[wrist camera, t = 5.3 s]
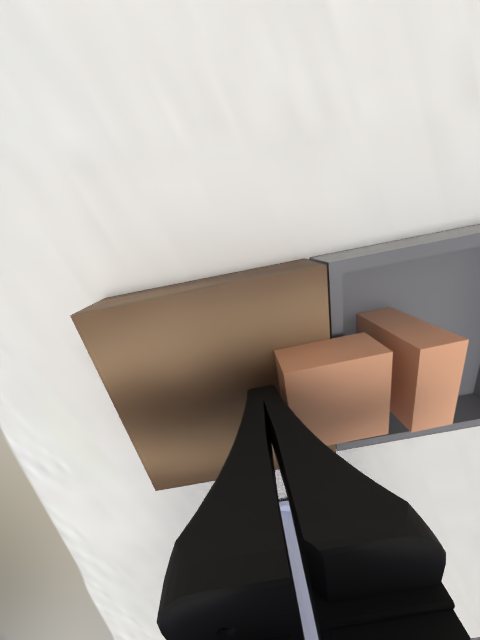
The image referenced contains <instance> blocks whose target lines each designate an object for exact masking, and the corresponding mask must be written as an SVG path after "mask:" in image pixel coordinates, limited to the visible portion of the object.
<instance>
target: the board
mask: <svg viewBox="0 0 480 640" xmlns="http://www.w3.org/2000/svg"><path fill="white" fill-rule="evenodd" d="M70 316H71V318H72V320H73V322H74V324H75V326H76V329H77V331H78V333H79V335H80V337H81V339H82V341H83V343H84V345H85V347H86V349H87V351H88V353H89V355H90V357H91V359H92V361H93V363H94V365H95V367H96V369H97V372H98V374H99V376H100V378H101V380H102V382H103V384H104V386H105V388H106V390H107V392H108V394H109V396H110V398H111V400H112V402H113V404H114V406H115V408H116V410H117V412H118V414H119V417H120V419H121V421H122V423H123V425H124V427H125V429H126V431H127V433H128V435H129V437H130V439H131V441H132V443H133V445H134V447H135V449H136V451H137V453H138V455H139V457H140V460H141V462H142V464H143V466H144V468H145V470H146V472H147V474H148V476H149V478H150V480H151V482H152V484H153V486H154V488H155V490H156V491H158V490H164V489H170V488H175V487H181V486H187V485H192V484H198V483H204V482H209V481H215V480H216V479H217V477H218V475H219V473H220V471H221V469H222V467H223V465H224V463H225V461H226V459H227V457H228V455H229V452H230V450H231V448H232V445H233V443H234V440H235V438H236V435H237V432H238V429H239V426H240V423H241V420H242V416H243V413H244V409H245V404H246V399H247V391H248V390H249V389H252V388H258V387H263V386H268V385H274V386H275V387H276V389H277V391H278V393H279V394H280V396H281V392H280V386H279V380H278V373H277V367H276V361H275V354H274V350H278V349H283V348H288V347H293V346H298V345H303V344H308V343H313V342H318V341H323V340H328V339H330V325H329V305H328V284H327V265H324V264H321V263H318V262H314V261H311V260H307V259H300V260H295V261H290V262H285V263H280V264H275V265H270V266H265V267H260V268H255V269H250V270H245V271H240V272H235V273H230V274H225V275H220V276H215V277H209V278H204V279H199V280H194V281H189V282H184V283H179V284H174V285H169V286H164V287H159V288H154V289H149V290H144V291H139V292H134V293H129V294H124V295H118V296H113V297H108V298H104V299H102V300H100V301H98V302H96V303H94V304H92V305H90V306H88V307H86V308H84V309H82V310H80V311H78V312H76V313H74V314H72V315H70ZM328 447H329V448H330V449H331V450H333V451H334V452H335V453H336V447H335V444H334V445H328ZM272 450H273V459H274V468H275V470H277V469H279V466H278V462H277V459H276V456H275V452H274V449H273V446H272Z"/></svg>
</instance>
